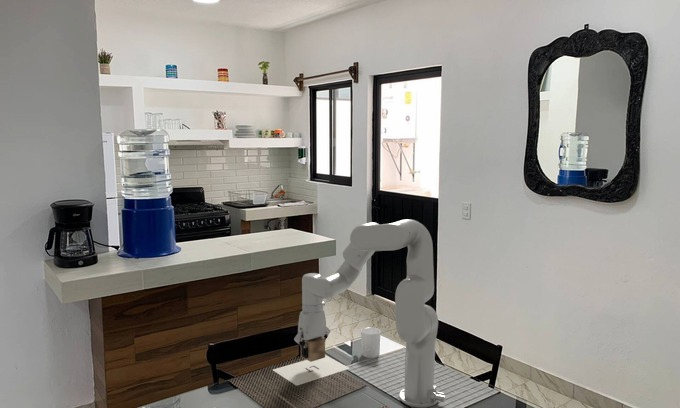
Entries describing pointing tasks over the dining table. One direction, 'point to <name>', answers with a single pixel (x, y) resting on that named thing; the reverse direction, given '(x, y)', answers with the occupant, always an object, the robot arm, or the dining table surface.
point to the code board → (310, 370)
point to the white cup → (370, 342)
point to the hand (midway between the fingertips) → (312, 354)
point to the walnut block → (315, 349)
